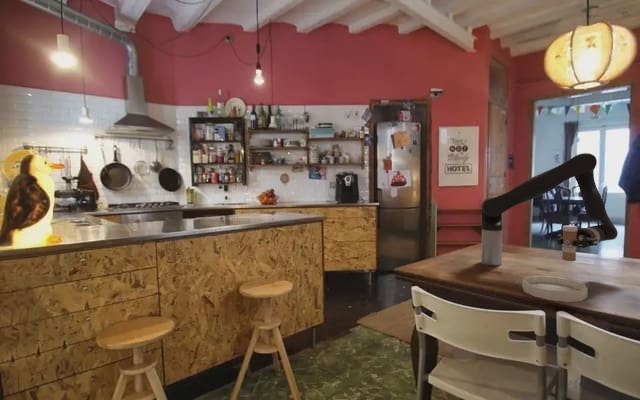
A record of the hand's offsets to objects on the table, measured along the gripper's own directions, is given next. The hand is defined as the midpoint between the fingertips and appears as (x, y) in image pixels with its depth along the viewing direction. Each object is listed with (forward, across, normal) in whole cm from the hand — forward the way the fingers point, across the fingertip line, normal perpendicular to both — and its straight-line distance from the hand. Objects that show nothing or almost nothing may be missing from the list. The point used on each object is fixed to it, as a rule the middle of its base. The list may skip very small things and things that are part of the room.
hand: (566, 242), depth 136 cm
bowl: (+6, -2, +19) cm, 20 cm away
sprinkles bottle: (-3, 0, +7) cm, 8 cm away
